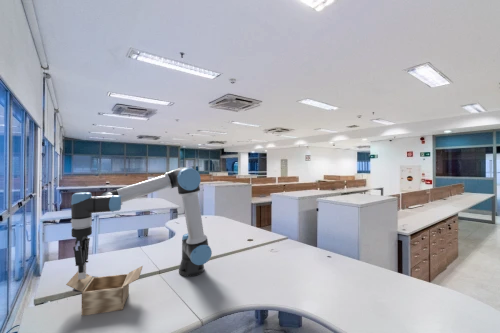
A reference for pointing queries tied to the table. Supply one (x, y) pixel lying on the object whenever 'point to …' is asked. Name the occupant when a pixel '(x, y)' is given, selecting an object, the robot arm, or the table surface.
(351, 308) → the table surface
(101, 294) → the carton
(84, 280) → the far side flap
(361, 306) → the table surface
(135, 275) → the flap
